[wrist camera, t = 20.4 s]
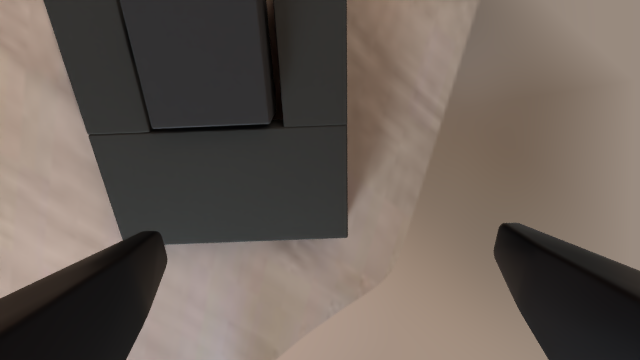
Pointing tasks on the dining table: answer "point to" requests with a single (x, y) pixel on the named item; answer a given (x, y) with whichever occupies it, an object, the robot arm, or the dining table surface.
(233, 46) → the small pad
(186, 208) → the base pad
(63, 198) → the dining table surface
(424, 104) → the dining table surface
